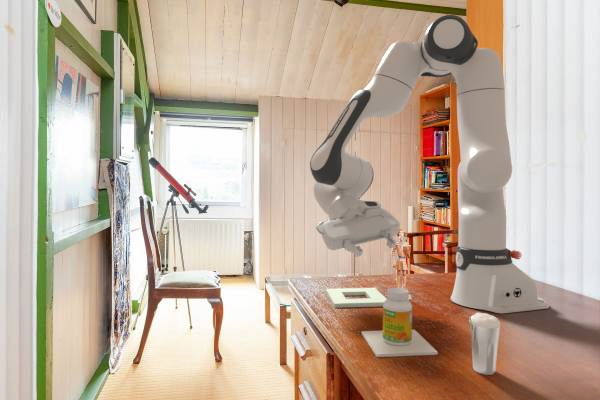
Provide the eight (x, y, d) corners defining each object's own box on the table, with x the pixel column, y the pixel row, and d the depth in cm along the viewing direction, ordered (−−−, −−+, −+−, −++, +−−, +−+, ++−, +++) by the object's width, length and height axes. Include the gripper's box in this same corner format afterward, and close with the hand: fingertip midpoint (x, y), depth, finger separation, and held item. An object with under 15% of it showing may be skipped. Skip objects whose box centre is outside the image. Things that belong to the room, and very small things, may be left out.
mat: (414, 331, 82) (414, 329, 82) (437, 354, 71) (437, 351, 71) (361, 333, 81) (361, 331, 81) (376, 357, 70) (376, 354, 70)
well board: (374, 291, 114) (374, 287, 114) (390, 306, 100) (390, 302, 100) (325, 292, 112) (325, 288, 112) (334, 307, 98) (334, 303, 98)
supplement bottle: (379, 343, 75) (380, 291, 75) (385, 333, 80) (386, 285, 79) (409, 348, 73) (410, 295, 72) (413, 338, 78) (414, 288, 77)
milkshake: (458, 364, 67) (459, 305, 67) (489, 363, 68) (490, 304, 67) (472, 377, 63) (473, 314, 62) (505, 376, 63) (506, 313, 63)
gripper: (314, 214, 101) (339, 248, 90) (383, 200, 108) (414, 231, 97) (312, 233, 104) (336, 269, 94) (379, 219, 111) (408, 250, 101)
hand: (377, 249), depth 96 cm, fingers open, 8 cm apart
